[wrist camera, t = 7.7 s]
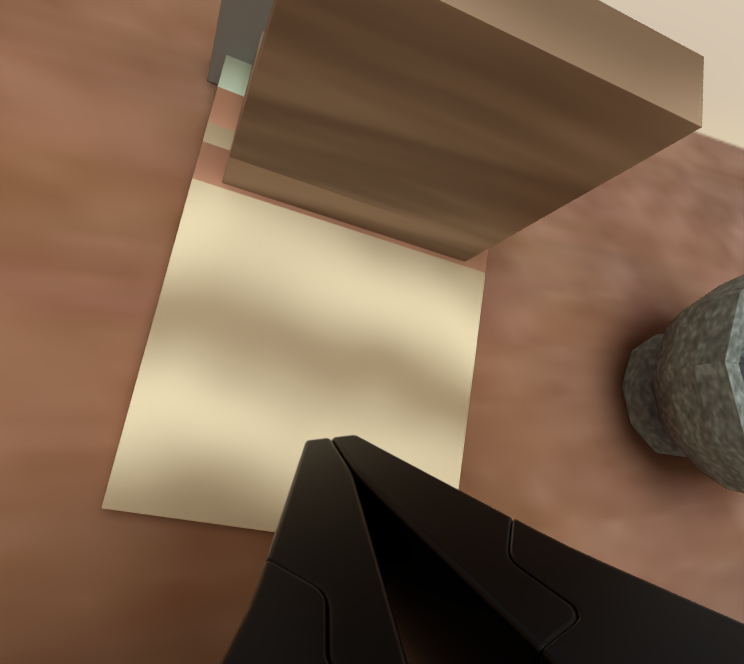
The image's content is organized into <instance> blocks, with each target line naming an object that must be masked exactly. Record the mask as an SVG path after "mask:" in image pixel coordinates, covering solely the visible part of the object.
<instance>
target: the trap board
mask: <svg viewBox="0 0 744 664" xmlns="http://www.w3.org/2000/svg"><path fill="white" fill-rule="evenodd" d="M251 68H252V65H251V64H248V63H246V62H243V61H241V60H238V59H236V58H233V57H231V56H228V55H226V58H225V62H224V65H223V69H222V73H221V76H220V80H219V84H218V87H217V91H216V94H215V98H214V102H213V105H212V109H211V113H210V116H209V120H208V123H207V127H206V131H205V134H204V138H203V142H202V145H201V149H200V153H199V156H198V160H197V163H196V167H195V171H194V174H193V178H192V182H191V185H190V189H189V192H188V196H187V200H186V203H185V207H184V211H183V214H182V218H181V221H180V225H179V229H178V232H177V236H176V240H175V243H174V247H173V250H172V254H171V258H170V261H169V265H168V269H167V272H166V276H165V279H164V283H163V287H162V290H161V294H160V298H159V301H158V305H157V308H156V312H155V316H154V319H153V323H152V327H151V330H150V334H149V337H148V341H147V345H146V348H145V352H144V356H143V359H142V363H141V367H140V370H139V374H138V377H137V381H136V385H135V388H134V392H133V396H132V399H131V403H130V406H129V410H128V414H127V417H126V421H125V425H124V428H123V432H122V435H121V439H120V443H119V446H118V450H117V454H116V457H115V461H114V464H113V468H112V472H111V475H110V479H109V483H108V486H107V490H106V493H105V497H104V501H103V504H102V508H103V509H111V510H118V511H125V512H132V513H140V514H147V515H154V516H161V517H169V518H176V519H183V520H190V521H198V522H205V523H212V524H220V525H227V526H234V527H241V528H249V529H256V530H263V531H270V532H275V531H276V528H277V525H278V522H279V519H280V516H281V513H282V510H283V508H284V505H285V502H286V499H287V496H288V493H289V490H290V487H291V484H292V481H293V478H294V475H295V472H296V469H297V466H298V463H299V460H300V457H301V454H302V451H303V448H304V445H305V443H306V441H308V440H314V439H323V438H329V439H330V440H331V441H332V439H333V438H334V437H339V436H348V435H356V436H359V437H360V438H362V439H364V440H366V441H368V442H370V443H372V444H374V445H375V446H377V447H379V448H381V449H383V450H385V451H387V452H389V453H390V454H392V455H394V456H396V457H398V458H400V459H402V460H404V461H406V462H407V463H409V464H411V465H413V466H415V467H417V468H419V469H421V470H422V471H424V472H426V473H428V474H430V475H432V476H434V477H436V478H437V479H439V480H441V481H443V482H445V483H447V484H449V485H451V486H453V487H454V488H456V489H458V488H459V480H460V472H461V464H462V456H463V448H464V440H465V432H466V424H467V416H468V408H469V400H470V392H471V384H472V376H473V369H474V361H475V353H476V345H477V337H478V329H479V321H480V313H481V305H482V297H483V289H484V281H485V273H486V265H487V257H488V249H489V248H488V249H487V250H485V251H483V252H481V253H479V254H478V255H476V256H474V257H472V258H471V259H469V260H467V261H465V262H464V261H461V260H458V259H455V258H452V257H449V256H446V255H442V254H439V253H436V252H433V251H430V250H427V249H424V248H421V247H418V246H415V245H412V244H409V243H406V242H403V241H399V240H396V239H393V238H390V237H387V236H384V235H381V234H378V233H375V232H372V231H369V230H366V229H363V228H360V227H356V226H353V225H350V224H347V223H344V222H341V221H338V220H335V219H332V218H329V217H326V216H323V215H320V214H317V213H313V212H310V211H307V210H304V209H301V208H298V207H295V206H292V205H289V204H286V203H283V202H280V201H277V200H274V199H270V198H267V197H264V196H261V195H258V194H255V193H252V192H249V191H246V190H243V189H240V188H237V187H234V186H231V185H227V184H224V183H222V180H223V176H224V172H225V168H226V164H227V161H228V157H229V153H230V149H231V145H232V141H233V137H234V134H235V130H236V126H237V122H238V118H239V114H240V111H241V107H242V103H243V99H244V95H245V91H246V88H247V84H248V80H249V76H250V72H251Z"/></svg>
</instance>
